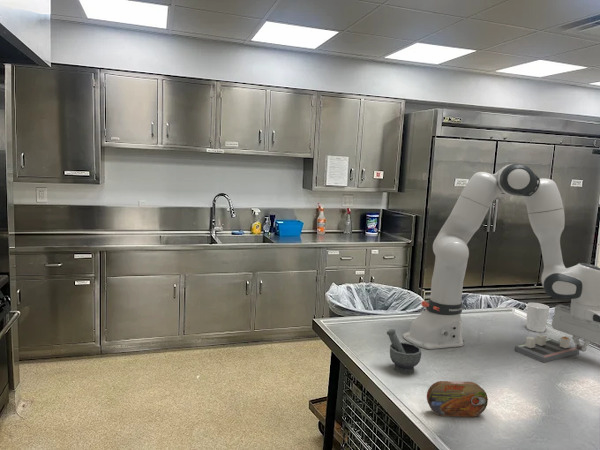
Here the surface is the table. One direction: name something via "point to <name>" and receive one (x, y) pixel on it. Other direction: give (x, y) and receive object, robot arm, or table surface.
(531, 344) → the block
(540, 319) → the white cup
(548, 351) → the panel
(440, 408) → the tin
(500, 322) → the table surface
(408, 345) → the mortar and pestle
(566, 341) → the block
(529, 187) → the robot arm
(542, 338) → the block
